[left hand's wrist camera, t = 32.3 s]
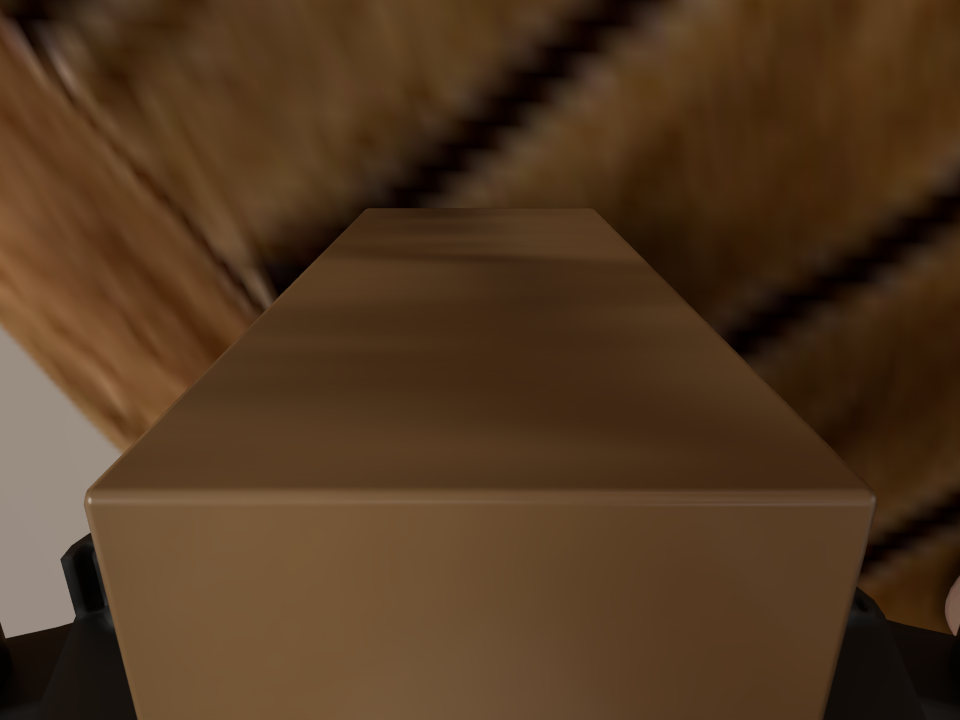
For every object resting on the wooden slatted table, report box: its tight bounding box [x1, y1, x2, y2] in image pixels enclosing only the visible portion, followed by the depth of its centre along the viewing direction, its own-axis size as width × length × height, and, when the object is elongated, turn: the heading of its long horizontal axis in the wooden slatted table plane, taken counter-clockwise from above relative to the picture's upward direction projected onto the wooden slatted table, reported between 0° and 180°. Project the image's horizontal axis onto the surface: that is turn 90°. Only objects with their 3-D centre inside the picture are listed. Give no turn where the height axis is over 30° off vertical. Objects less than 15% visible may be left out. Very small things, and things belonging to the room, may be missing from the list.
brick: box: [84, 208, 877, 720], centre depth 11 cm, size 5×9×12 cm, turn 0°
